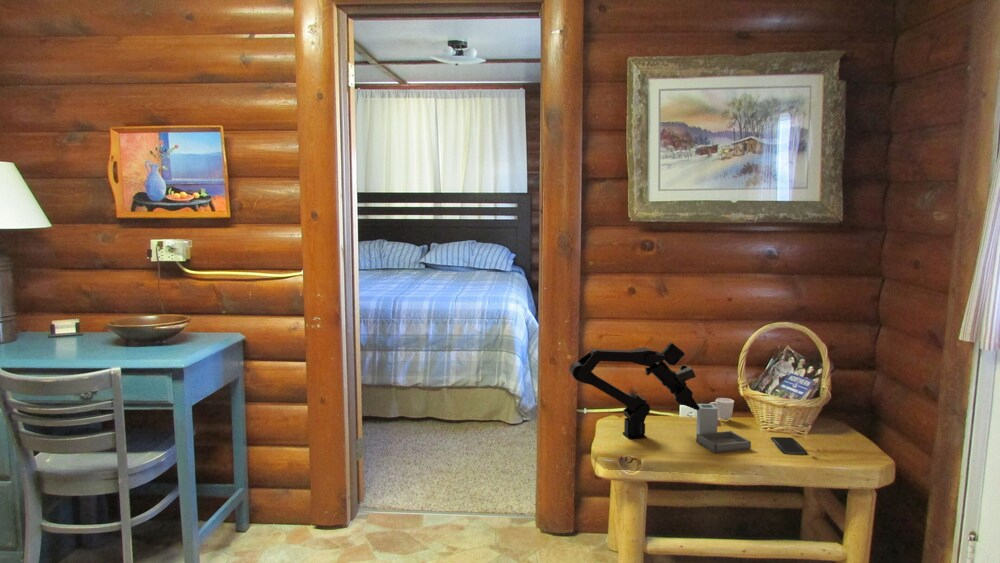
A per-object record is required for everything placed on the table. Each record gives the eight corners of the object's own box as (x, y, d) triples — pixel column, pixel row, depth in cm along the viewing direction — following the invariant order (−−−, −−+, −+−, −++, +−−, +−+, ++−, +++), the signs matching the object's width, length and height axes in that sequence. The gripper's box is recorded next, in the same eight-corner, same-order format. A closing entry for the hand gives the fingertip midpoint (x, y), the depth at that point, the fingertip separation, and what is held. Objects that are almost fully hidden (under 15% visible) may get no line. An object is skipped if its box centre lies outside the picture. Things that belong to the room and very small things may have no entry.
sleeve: (699, 438, 231) (700, 408, 230) (696, 433, 237) (697, 403, 236) (721, 439, 230) (722, 408, 229) (717, 433, 236) (718, 404, 235)
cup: (735, 423, 247) (736, 403, 247) (708, 422, 249) (708, 402, 248) (732, 418, 254) (732, 398, 254) (705, 417, 256) (706, 397, 255)
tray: (714, 453, 216) (714, 445, 216) (696, 442, 228) (696, 434, 227) (750, 449, 219) (750, 441, 219) (730, 438, 231) (731, 430, 230)
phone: (783, 452, 215) (769, 436, 230) (783, 455, 215) (769, 440, 230) (808, 452, 214) (793, 437, 229) (808, 456, 214) (793, 440, 229)
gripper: (686, 365, 223) (718, 397, 223) (677, 354, 241) (707, 383, 241) (662, 387, 225) (694, 419, 224) (655, 374, 243) (685, 404, 243)
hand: (696, 405), depth 233 cm, fingers open, 9 cm apart
